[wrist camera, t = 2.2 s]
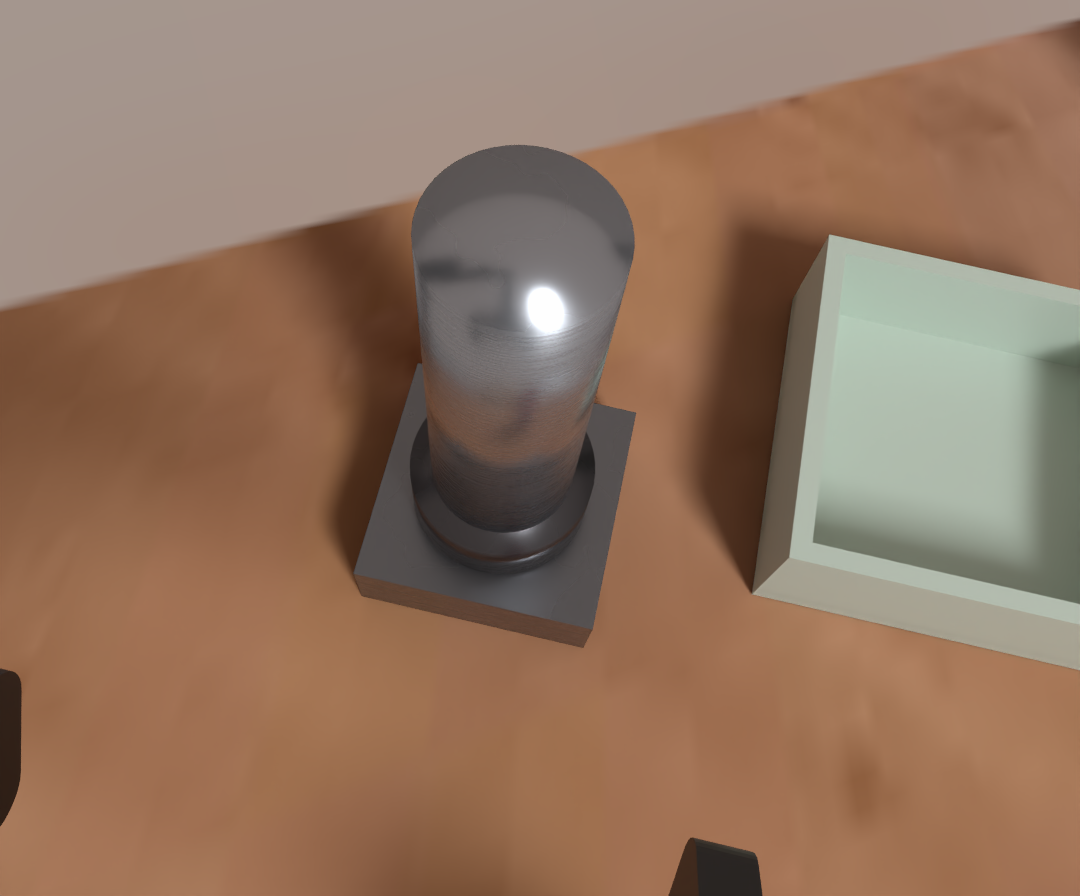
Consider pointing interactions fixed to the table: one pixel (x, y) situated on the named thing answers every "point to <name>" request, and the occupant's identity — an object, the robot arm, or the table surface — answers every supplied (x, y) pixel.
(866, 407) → the bin
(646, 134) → the table surface
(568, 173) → the silver domed cylinder
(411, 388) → the stud block
